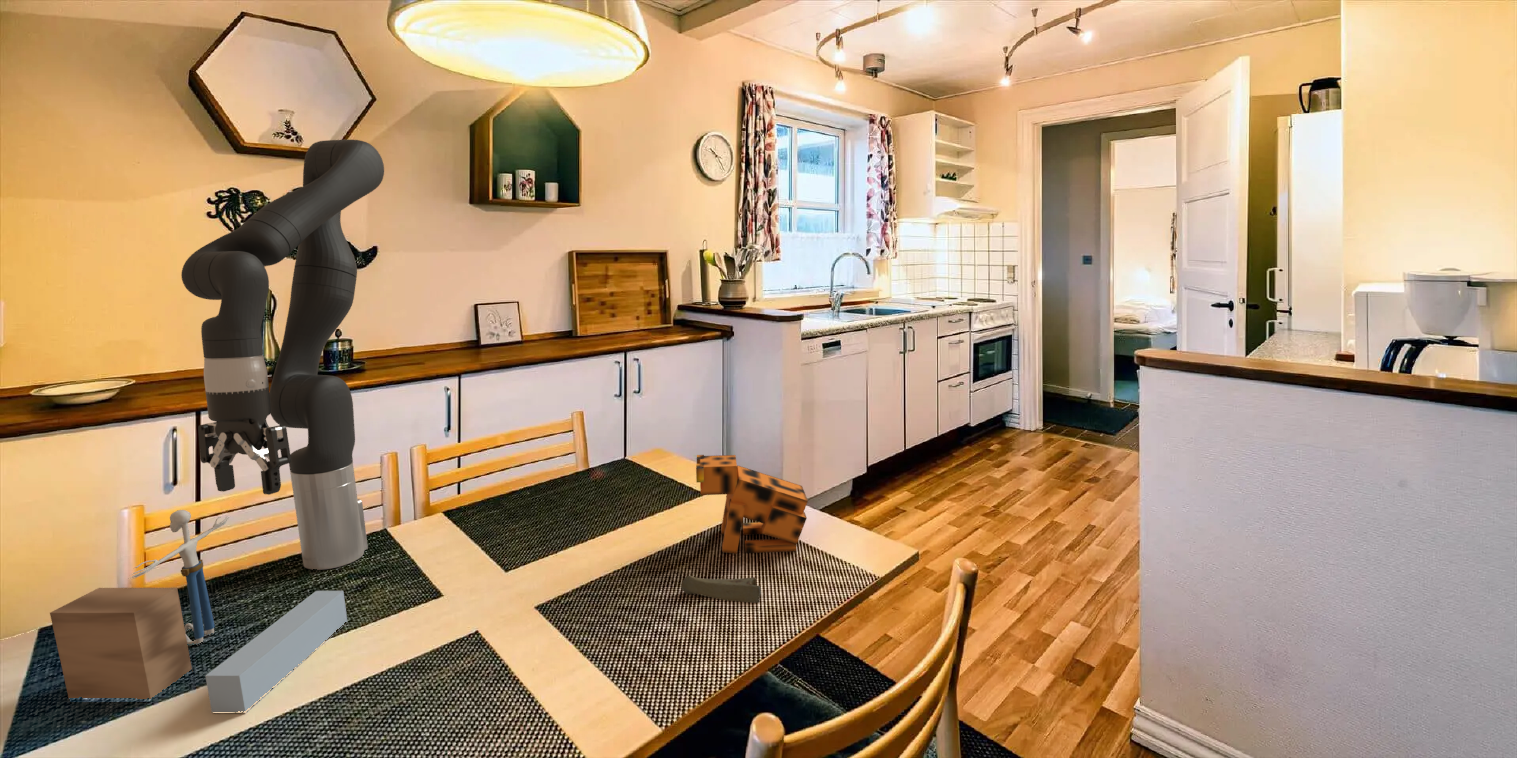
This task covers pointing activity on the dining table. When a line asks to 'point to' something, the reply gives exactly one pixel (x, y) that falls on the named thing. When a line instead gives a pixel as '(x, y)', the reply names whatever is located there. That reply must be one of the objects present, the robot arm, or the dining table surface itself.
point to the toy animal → (753, 504)
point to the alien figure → (191, 575)
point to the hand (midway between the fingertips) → (249, 491)
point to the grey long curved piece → (723, 588)
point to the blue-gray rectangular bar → (275, 652)
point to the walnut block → (121, 642)
